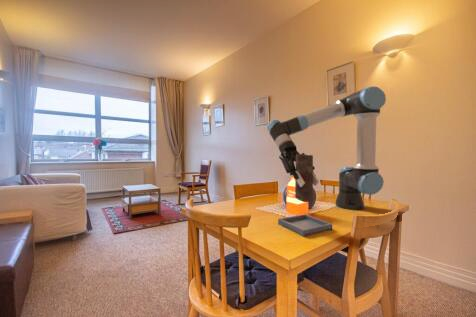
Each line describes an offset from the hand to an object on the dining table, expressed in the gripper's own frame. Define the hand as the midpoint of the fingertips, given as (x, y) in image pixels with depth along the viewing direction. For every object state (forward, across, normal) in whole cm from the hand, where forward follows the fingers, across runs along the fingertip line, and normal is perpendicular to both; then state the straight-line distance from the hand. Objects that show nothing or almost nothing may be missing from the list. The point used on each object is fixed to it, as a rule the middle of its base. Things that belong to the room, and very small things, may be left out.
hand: (309, 184), depth 94 cm
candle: (+3, 0, -8) cm, 8 cm away
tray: (+11, -1, -16) cm, 19 cm away
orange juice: (-1, -13, -29) cm, 31 cm away
